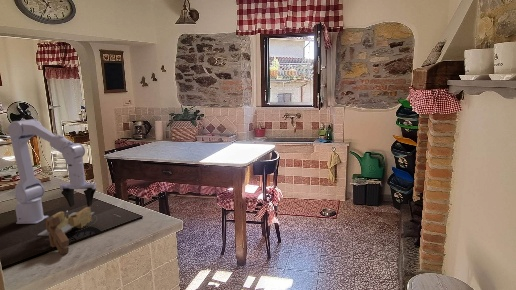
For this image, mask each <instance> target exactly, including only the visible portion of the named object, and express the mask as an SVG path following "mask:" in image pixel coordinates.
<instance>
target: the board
mask: <svg viewBox="0 0 516 290" xmlns="http://www.w3.org/2000/svg"><path fill="white" fill-rule="evenodd" d="M77 212H78V211H77ZM77 212H76V211H75V212H71V213H70V214H68V215H69V216H71V215H74V214H76V213H77ZM94 214H95V211H91V216H93V215H94ZM72 228H73V229H74V228H76V226H70V225H69V224H67V225H66V226H64V227H63V228H61V230H62V231H63V232H64V233H65V234H67V233H68V232H70V231H72ZM49 233H50V232H48V231H47V230H46V229H44V230H42V231H41V232H39V233H37V237H49Z"/></svg>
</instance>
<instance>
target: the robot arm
mask: <svg viewBox="0 0 516 290" xmlns="http://www.w3.org/2000/svg"><path fill="white" fill-rule="evenodd" d="M7 129H8V134H9V138H10V142H11V146H12V151H13V155H14V159H15V160H14V161H15V164H16V168H17V169H16V170H17V172H18V176H19V177H18V178H19V181H18V182H17V183H16V185H15V186H14V189H15V191H14V192H15V193H14V197H15V199H16V201H17V203H16V205H15V213H16V222H15V223H16V224H17V225H18V224H23V225H24V224H27V225H28V224H31V225H32V224H38V223H40V222H42V221H44V220H46V218H47V217H50V216H49V215H44V209H43V204H42V203H43V202H42V199H43V197H44V195H45V187H44V186H43V183H42V180H40V179H38V178H36V176H35V172H34V168H33V163H32V159H31V153H30V150H29V146H28V142H29V140H30V139H31V138H33V137H34V136H36V137H38V138H41V139H42V140H45V141H46V142H48V143H49V146H50V147H51V148H53V149H54V150H56V151H58V152H59V153H61V155H62V157H63V158H64V160H65V161H64V162H65V164H66V166H67V171H68V179H69V183H61V184H60V185H59V189H60V190H61V191H60V192H61V195H62V196H63V197H64V198H65V199H66V201H67V204H68V205H69V208H72V207H74V206H75V199H74V198H75V197H74V195H75V193H74V192H75V190H83V193H84V195H85V199H86V204H87V206H86V207H91V206H92V205H93V199H94V195H95V193H96V190H97V188H98V186H97V183H96V182H95V183H92V182H87V181H86V176H85V175H86V174H85V166H84V156H85V153H86V148H85V147H84V146H83V144H81V143H80V142H77V143H76V142H74V141H72V140H69V139H67V138H66V137H65V136H64V135H63V134H55V133H52V132H51V131H50V130H49V129H47V128H46V127H44V126H43V125H42V123H41V121H38V120H37V119H36V118H31V119H25V120H14V121H12V122H10V124H9V125H8V126H7Z"/></svg>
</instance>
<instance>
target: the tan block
mask: <svg viewBox="0 0 516 290" xmlns="http://www.w3.org/2000/svg"><path fill="white" fill-rule="evenodd" d="M91 210H92V209H91V206H89V207H88V206H86V207H84V208H82V209H81V210H80V211H77V213H76V214H74V215H71V216H69V217H68V218H69V225H70V226H75V227H76V229H83V228H84V227H85V226H86V225H87V223H88V224H89V223H91V222H92V221H93V218H92V216H93V215H91V212H92V211H91ZM90 221H91V222H90ZM83 226H84V227H83Z"/></svg>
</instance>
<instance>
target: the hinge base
mask: <svg viewBox="0 0 516 290" xmlns="http://www.w3.org/2000/svg"><path fill="white" fill-rule="evenodd" d="M69 215H70V214H69V211H68V210H66V211H59V212H56V213H55V214H53V215H52V216H53V217H54V218H55V217H59V218H60V222H61V223H60V224H59V225H58V228H59V229H61V228H63V227H64V226H66V225H67V224H69V218H68V217H69Z"/></svg>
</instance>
